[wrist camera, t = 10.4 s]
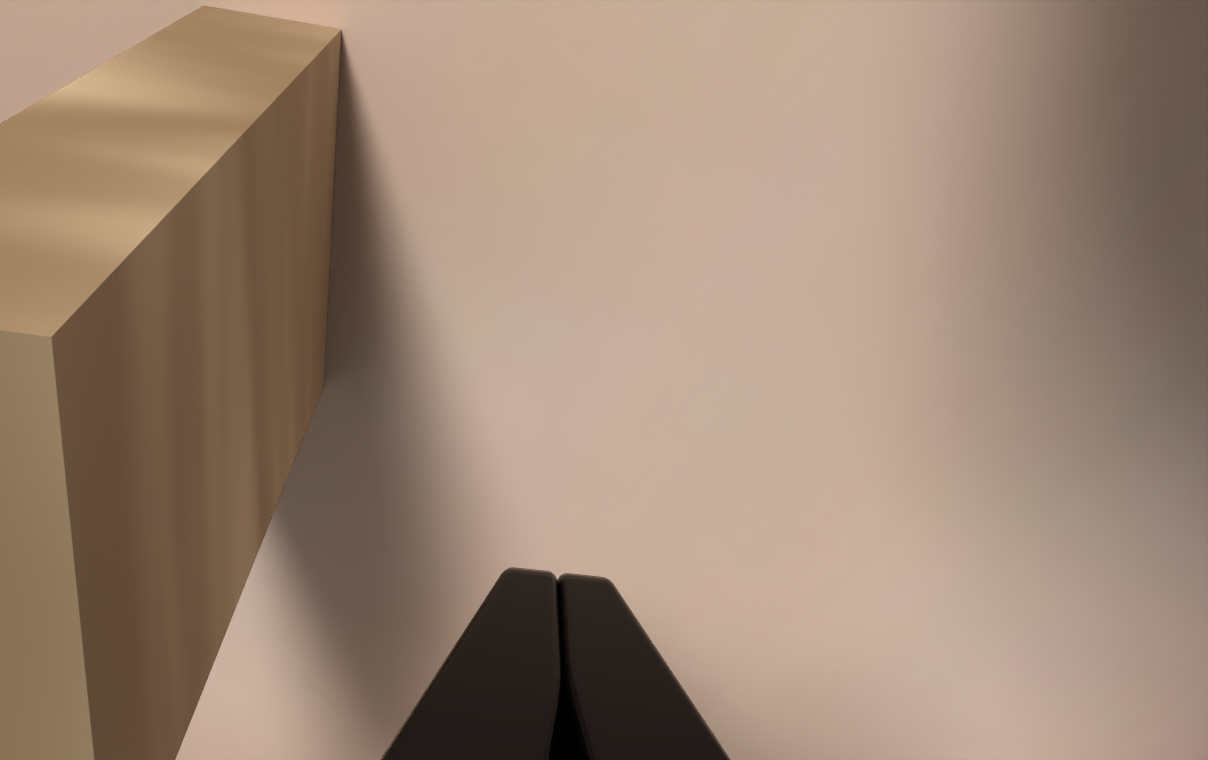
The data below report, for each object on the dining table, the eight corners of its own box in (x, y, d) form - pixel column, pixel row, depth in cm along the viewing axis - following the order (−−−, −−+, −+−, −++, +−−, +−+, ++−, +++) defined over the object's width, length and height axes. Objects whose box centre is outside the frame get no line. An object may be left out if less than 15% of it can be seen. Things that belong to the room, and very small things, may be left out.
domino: (341, 30, 12) (51, 335, 5) (324, 386, 15) (109, 922, 8) (203, 6, 12) (-290, 292, 5) (209, 371, 14) (-118, 907, 7)
